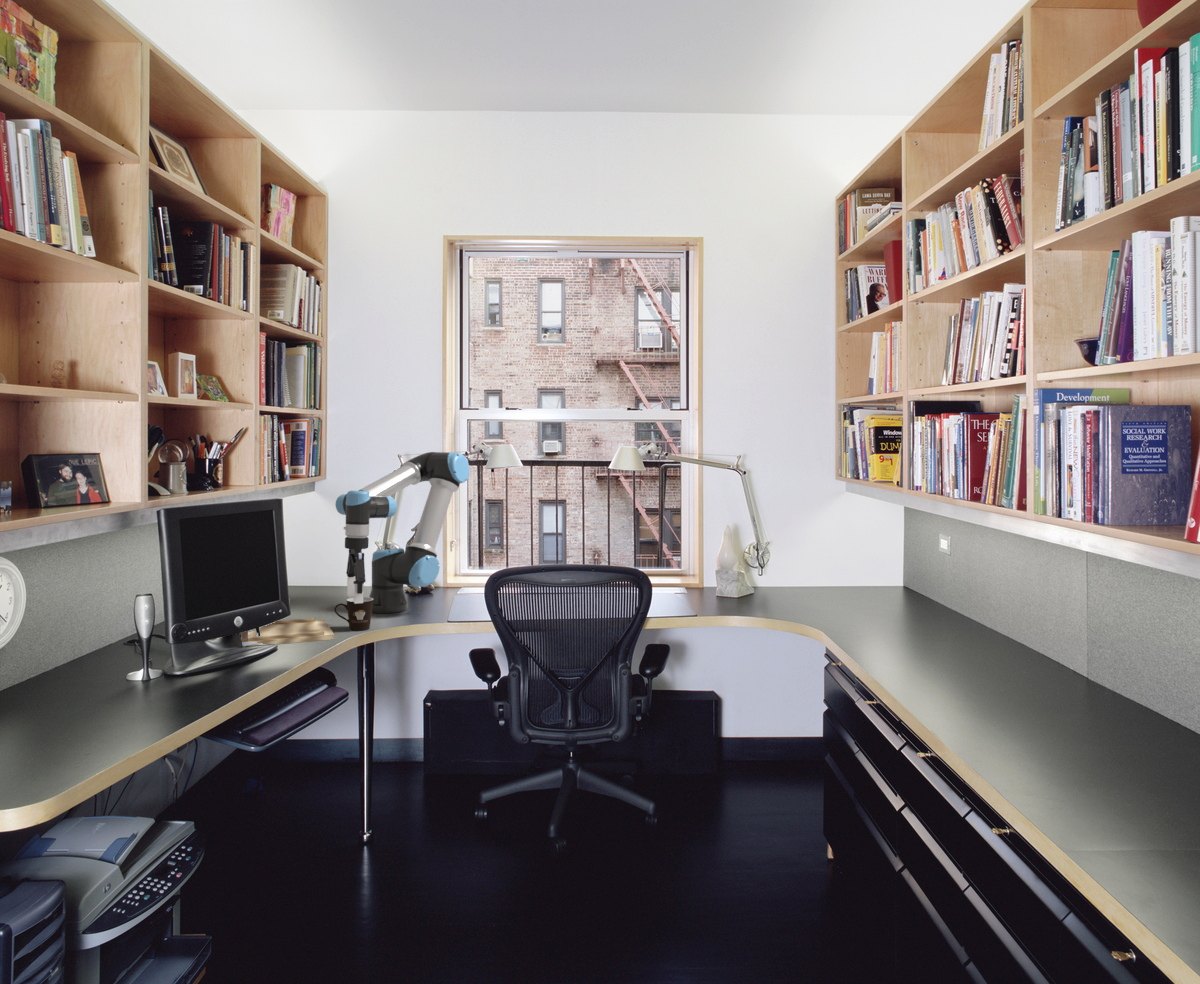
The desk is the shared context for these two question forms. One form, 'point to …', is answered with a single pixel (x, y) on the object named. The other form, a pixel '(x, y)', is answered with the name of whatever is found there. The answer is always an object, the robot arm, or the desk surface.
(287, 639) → the channel board
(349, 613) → the coffee mug
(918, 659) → the desk surface
